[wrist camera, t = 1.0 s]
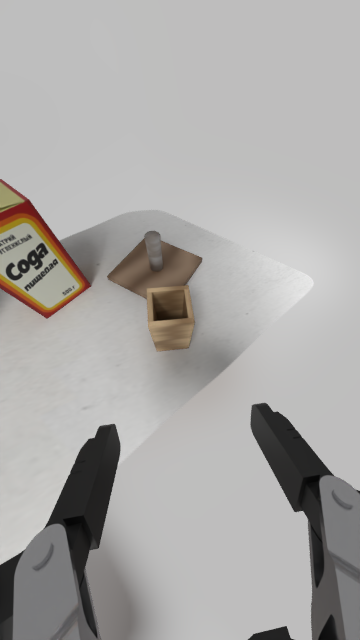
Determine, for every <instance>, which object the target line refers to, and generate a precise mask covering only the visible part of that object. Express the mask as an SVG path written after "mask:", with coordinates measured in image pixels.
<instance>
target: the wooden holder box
mask: <svg viewBox="0 0 360 640" xmlns="http://www.w3.org/2000/svg"><path fill="white" fill-rule="evenodd" d="M147 309H148V328H149V331H150V333H151V336H152V339H153V341H154V344H155V347H156V350H157V351H166V350H176V349H185V348H189V344H190V340H191V336H192V331H193V327H194V323H195V321H194V315H193V310H192V304H191V298H190V292H189V286H188V285H185V286H172V287H160V288H147Z"/></svg>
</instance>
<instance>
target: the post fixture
mask: <svg viewBox="0 0 360 640" xmlns="http://www.w3.org/2000/svg"><path fill="white" fill-rule="evenodd" d="M144 237H145V238H144V239H143V240H142V241H141V242H140V243H139V244H138V245H137V246H136V247H135V248H134V249H133V250H132V251H131V252H130V253H129V254H128V255H127V256H126V257H125V258H124V259H123V261H122V262H121V263H120V264H119V265H118V266H117V267H116V268H115V269H114V270H113V271H112V272H111V273H110V274H109V275H108V276H107V277H108V279H109V280H111V281H113V282H115V283H117V284H118V285H120V286H122V287H124V288H126V289H128V290H130V291H132V292H134V293H136V294H138V295H140V296H142V297H144V298H146V299H147V288H160V287H172V286H185V285H186V284H187V282H188V281H189V279H190V278H191V276H192V275H193V273H194V272H195V271H196V269H197V268H198V266H199V265H200V263H201V262H202V258H201V257H199V256H196V255H194V254H192V253H189V252H187V251H184V250H182V249H180V248H177V247H175V246H172V245H170V244H168V243H165V242H163V241H161V240H160V234H159V233H158V232H156V231H149V232H147V233H146V234H145V236H144Z"/></svg>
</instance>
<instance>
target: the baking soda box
mask: <svg viewBox="0 0 360 640" xmlns="http://www.w3.org/2000/svg"><path fill="white" fill-rule="evenodd" d="M89 287H91V285H90V283H89V282H88V281H87V279H86V278H85V276H84V275H83V274H82V272H81V271H80V269H79V268H78V267H77V265H76V264H75V263H74V261H73V260H72V258H71V257H70V256H69V254H68V253H67V252H66V250H65V249H64V247H63V246H62V245H61V243H60V242H59V240H58V239H57V238H56V236H55V235H54V234H53V232H52V231H51V229H50V228H49V227H48V225H47V224H46V223H45V221H44V220H43V219H42V217H41V216H40V214H39V213H38V211H37V210H36V209H35V207H34V206H33V205H32V203H31V202H30V200H29V199H27V198H26V197H25V196H23V195H22V194H20V193H19V192H18V191H17V190H15V189H14V188H12V187H11V186H10V185H8V184H7V183H6V182H4V181H3V180H2V179H0V288H1V289H2V290H4V291H5V292H7V293H8V294H10V295H12V296H13V297H15V298H16V299H18V300H19V301H21V302H22V303H24V304H25V305H27V306H28V307H30V308H31V309H33V310H35V311H36V312H38V313H39V314H41V315H42V316H44V317H45V318H49V317H50V316H51V315H53V314H54V313H56V312H57V311H58V310H60V309H61V308H62V307H64V306H65V305H66V304H68V303H69V302H70V301H72V300H73V299H74V298H76V297H77V296H78V295H80V294H81V293H83V292H84V291H85V290H87V289H88V288H89Z"/></svg>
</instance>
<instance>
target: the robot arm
mask: <svg viewBox="0 0 360 640" xmlns="http://www.w3.org/2000/svg"><path fill="white" fill-rule="evenodd" d="M251 429H252V432H253V435H254V437H255V439H256V440H257V443H258V444H259V446H260V448H261V450H262V452H263V454H264V456H265V458H266V459H267V461H268V463H269V465H270V467H271V469H272V470H273V472H274V474H275V476H276V478H277V480H278V482H279V484H280V486H281V488H282V489H283V491H284V493H285V495H286V497H287V499H288V501H289V503H290V504H291V506H292V508H293V510H294V512H299V511H304V513H305V515H306V516H307V518H308V531H309V546H310V562H311V577H312V603H311V605H312V606H311V626H312V627H311V628H312V640H360V491H358V490H355V489H354V488H353V487H352V486H351V485H349V484H348V483H347V482H345V481H344V480H342V479H340V478H338V477H335V476H334V475H333V474H332V473H331V472H330V471H329V470H328V468H327V467H326V466H325V465H324V464H323V462H322V461H321V460H320V459H319V457H318V456H317V455H316V454H315V452H314V451H313V450H312V449H311V447H310V446H309V445H308V444H307V442H306V441H305V440H304V439H303V438H302V437H301V435H300V434H299V433H298V431H297V430H295V428H294V427H293V425H292V424H291V423H290V421H289V420H288V419H287V418H286V417H284V416H283V415H282V414H280V413H279V412H273V411H272V410H271V408H270V407H269V406H268V404H266V403H261V404H254V405H252V410H251ZM119 456H120V441H119V437H118V433H117V429H116V426H115V424H110V425H103V426H100V427H99V428H98V431H97V433H96V436H95V438H92V439H88V441H87V442H86V443H85V444H84V446H83V447H82V448H81V450H80V452H79V454H78V456H77V458H76V461H75V464H74V465H73V467H72V470H71V472H70V475H69V476H68V479H67V481H66V483H65V485H64V487H63V490H62V492H61V494H60V496H59V499H58V501H57V503H56V505H55V508H54V510H53V512H52V514H51V517H50V519H49V521H48V523H47V524H46V526H45V528H44V529H43V530H42V531H41V532H40V533H38V534H37V535H36V536H35V537H34V539H33V540H32V541H31V542H30V543H29V545H28V546H27V548H26V549H25V550H24V551H22V552H21V553H20V554H18V555H16V556H15V557H13V558H11V559H10V560H8V561H6V562H4V563H3V564H1V565H0V640H101V636H100V632H99V627H98V623H97V618H96V614H95V609H94V605H93V600H92V596H91V591H90V587H89V582H88V578H87V573H86V569H85V566H86V562H87V558H88V554H89V550H93V549H98V548H99V545H100V540H101V536H102V531H103V527H104V522H105V518H106V514H107V509H108V505H109V500H110V496H111V492H112V487H113V483H114V478H115V474H116V470H117V465H118V461H119ZM248 640H294V639H291V638H290V635H289V632H288V629H287V626H285V627H281V628H277V629H273V630H269V631H264V632H260V633H256V634H253V636H251V637H250V638H249V639H248Z"/></svg>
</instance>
